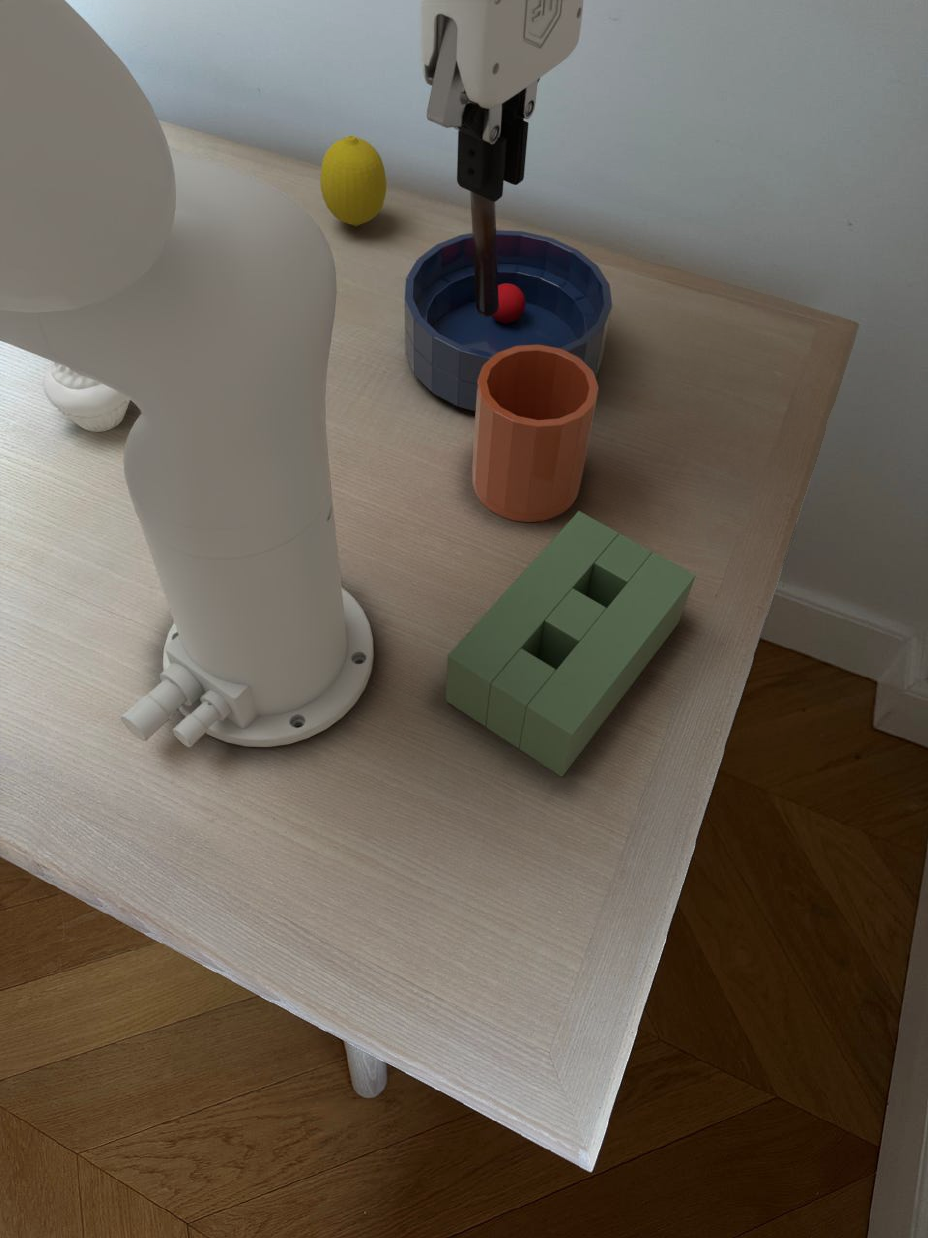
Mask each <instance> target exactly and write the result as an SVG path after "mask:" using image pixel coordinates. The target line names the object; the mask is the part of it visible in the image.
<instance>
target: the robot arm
mask: <svg viewBox="0 0 928 1238" xmlns="http://www.w3.org/2000/svg"><path fill="white" fill-rule="evenodd" d="M583 10H584V0H420V26H419V27H420V30H419V31H420V36H419V37H420V60H421V69H422V75H423V78H424V81H425V82H426V84H427V85H429V86H431V90H430V95H429V100H428V105H427V109H426V119H427V120H428V121H430V122H432V123H435V124H436V125H439V126H441V127H443V128H446V129H451V128H453V129H454V130H457V132H458V134H457V162H456V163H457V164H456V165H457V166H456V167H457V168H456V183H457V184H458V186H459V187H460V188H463V189H464V190H466V191H469V192H470V191H471V192H473V193H475V194H478V195H480V196H482V197H484V198H486V199H489V200H491V201H493V202H495V203H496V202H497V201H499V200H500V199H501V198H503V195H504V182H506V183H508V184H511V185H514V186H517V185H519V184H521V183H522V182H523V181H524V179H525V169H526V156H527V146H528V135H529V121H526V120H528V119H530V118H531V117H532V116H533V114H534V112H535V108H536V101H537V94H538V93H537V91H538V84H539V82H540V80H541V78H542V77H543V76H544V75H547V73H549V72H551V71H552V70H553V69H554V68H556V67H557V66H558V65H560V64H561V63H562V62H563V61H565V60H566V59H567V58H569V57H570V55H572V53H573V52H574V51H575V49H576V47H577V46H578V43H579V40H580V35H581V29H582V20H583ZM471 101H473V102H476V103H479V105H480V106H481V107H483V110H482V109H481V108H480V107H479V106H478V105H476V104H473V103H471ZM151 103H152V102H150V100H149V98H148V97H147V95H146V94H145V92H144V90H143V89H142V88H141V86H140V85H139V83H138V82H137V80H136V78H135V77H134V75H133V74H132V73H131V71H130V69H129V68H128V67H127V65H126V64H125V63H124V61H122V60H121V58H120V57H119V56H118V55H117V54H116V52H114V50H113V48H111V47H110V46H109V44H107V42H106V41H105V40H104V38H102V37H101V35H100V34H99V33H98V32H97V31H96V30H95V29H94V28H93V27H92V26H91V24H90V23H89V22H87V20H86V19H85V18H84V17H83V16H82V15H81V14H79V13H78V12H77V11H76V9H75V8H74V7H73V6H71V5H70V4H69V2H68V1H67V0H0V342H3V343H5V344H7V345H11V346H13V347H16V348H19V349H20V350H23V351H26V352H28V353H31V354H32V355H35V356H38V357H41V358H43V359H45V360H48V361H51V362H52V361H53V362H55V363H58V364H60V365H63V366H65V367H68V368H70V369H71V370H72V371H74V372H76V373H78V374H80V375H82V376H85V377H87V378H90V379H92V380H95V381H97V382H100V383H102V384H104V385H106V386H108V387H110V388H112V389H114V390H116V391H118V392H119V393H121V394H123V395H125V396H126V397H127V398H129V399H130V402H133V403H134V405H135V406H137V408H138V409H139V411H140V414H139V416H138V417H137V419H136V420H135V422H134V423H133V425H132V427H131V428H130V430H129V433H128V435H127V438H126V441H125V445H124V450H123V461H122V462H123V473H124V477H125V478H124V479H125V483H126V486H127V490H128V493H129V496H130V499H131V502H132V505H133V509H134V511H135V515H136V516H137V518H138V521H139V523H140V527H141V529H142V533H143V535H144V538H145V541H146V545H147V546H148V550H149V552H150V553H149V554H150V555H151V558H152V561H153V564H154V567H155V570H156V573H157V576H158V579H159V581H160V584H161V587H162V591H163V593H164V596H165V599H166V601H167V606H168V608H169V611H170V614H171V617H172V620H173V623H172V625H171V627H170V629H169V631H168V632H167V637H166V641H165V643H164V648H163V655H162V656H163V657H162V669H163V671H162V672H161V673H159V680H160V683H158V684H157V685H156V686H155V687H154V688H153V689H152V690H151V691H149V692H148V693H147V694H144V695H143V696H142V697H141V698H140V699H139V700H138V701H137V702H136V703H134V704H133V705H132V706H131V707H130V708H129V709H128V710H126V711H125V713H123V714H122V715H121V716H120V720H121V722H122V723H123V725H124V726H125V727H126V729H127V730H129V731H130V733H131V734H132V735H134V736H135V737H136V738H137V739H139V740H141V741H142V742H147V741H148V740H149V739H150V738H151V737H152V736H154V734H155V733H157V731H159V730H160V729H161V728H162V727H163V726H164V725H165V724H166V723H167V722H168V721H170V717H172V716H173V714H174V713H175V712H177V710H179V712H180V713H181V714H182V715H183V716H184V718H183V719H182V720H180V722H179V723H178V724H177V725H176V726H175V727H173V728H172V733H173V735H174V737H176V738H177V740H178V741H179V742H180V743H182V744H183V745H184V746H185V747H188V748H192V747H193V746H194V745H195V744H196V742H198V741H199V739H201V738H202V737H203V736H204V735H205V734H206V735H208V736H210V737H212V738H215V739H217V740H220V741H222V742H224V743H227V744H228V743H229V744H233V745H237V746H242V747H248V748H249V747H250V748H251V747H252V748H253V747H254V748H271V747H278V746H286V745H291V744H294V743H297V742H300V741H304V740H307V739H310V738H311V737H313V736H315V735H317V734H319V733H321V732H323V731H326V730H327V729H329V728H330V727H331V726H332V725H334V724H335V723H337V722H338V721H340V720H341V719H342V718H343V717H345V715H346V714H347V713H348V712H350V710H351V709H352V708H353V707H354V706H355V705H356V704H357V702H358V701H359V699H360V697H361V696H362V694H363V692H364V691H365V690H366V687H367V685H368V682H369V679H370V677H371V674H372V671H373V665H374V656H375V653H374V637H373V634H372V629H371V623H370V622H369V620H368V619H369V618H368V617H367V615H366V613H365V610H364V609H363V608H362V607H361V605H360V604H359V602H358V601H357V600H356V598H355V597H354V596H353V595H352V594H351V593H350V592H348V591H347V590H346V589H345V588H344V587H343V586H342V577H341V569H340V559H339V558H340V557H339V548H338V539H337V529H336V521H335V520H336V519H335V509H334V501H333V491H332V481H331V470H330V469H331V468H330V459H329V449H328V434H327V421H326V419H327V418H326V417H327V416H326V410H327V409H326V396H327V395H326V393H327V375H328V367H329V358H330V351H331V343H332V337H333V328H334V323H335V322H334V321H335V315H336V305H337V293H338V292H337V291H338V290H337V271H336V263H335V259H334V255H333V252H332V250H331V247H330V244H329V242H328V239H327V237H326V236H325V234H324V232H323V231H322V229H321V228H320V226H319V225H318V224H317V222H316V221H315V220H314V218H313V217H312V216H311V215H310V214H309V213H308V212H307V211H306V210H305V209H304V208H303V207H302V206H301V205H300V204H298V203H297V202H296V201H295V200H294V199H293V198H291V196H288V195H287V194H285V193H284V192H283V191H281V190H280V189H278V188H277V187H275V186H273V185H271V184H269V183H267V182H265V181H263V180H261V179H259V178H257V177H255V176H253V175H251V174H250V173H247V172H244V171H242V170H239V169H237V168H234V167H232V166H230V165H227V164H225V163H222V162H218V161H216V160H213V159H209V158H206V157H203V156H200V155H197V154H194V153H191V152H188V151H185V150H181V149H178V148H175V147H172V146H170V145H169V143H168V139H167V136H166V135H165V132H164V129H163V127H162V125H161V123H160V121H159V118H158V116H157V113H156V112H155V110H154V107H153V105H152V104H151ZM298 726H299V727H298Z"/></svg>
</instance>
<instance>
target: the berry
mask: <svg viewBox="0 0 928 1238" xmlns="http://www.w3.org/2000/svg"><path fill="white" fill-rule="evenodd" d="M498 298H499V308H498V311H497V312H496V314H495V315H493V316H492V317H493V318H494V319H495V320H496V321H498V322H501V323H511V322H514V321H516V320H517V319H518V318H520V316H521V315H522V314H523V312H524V309H525V297H524V294H523V292H522V291H521V290H520V289H519V288H518V287H517V286H515V285H513V284H509V283H504V284H500V285H498Z"/></svg>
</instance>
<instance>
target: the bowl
mask: <svg viewBox="0 0 928 1238" xmlns="http://www.w3.org/2000/svg"><path fill="white" fill-rule="evenodd" d="M496 239H497V268H498V285H500V284H504V283H509V284H513V285H515V286H517V287H518V288H519V289H520V290H521V291H522V292H523V294H524V297H525V309H524V312H523V314H522V315H521V316H520V318H518V319H517V320H516V321H514V322H511V323H501V322H498V321H496V320H495V319H494V318H493V317H492V316H491V317H484V316H482V315H480V314H479V312H478V311H477V307H476V291H475V272H474V253H473V235H472V232H470V233H463V234H460V235H457V236H454V237H452V238H450V239H447V240H444V241H442V242H439V243H436V244H435V245H434V246H432V247H431V248H430V249H429V250H427V251H426V252H425V253H423V254H422V255H420V256H419V257H418V258H417V259H416V261H415V262H414V264H413V266H412V267H411V269H410V271H409V272H408V274H407V275H406V277H405V287H404V343H405V345H404V347H405V348H404V349H405V350H404V352H405V356H406V359H407V361H408V364H409V366H410V368H411V371H412V373H413V375H414V376H415V377H416V378H417V379H418V380H419V381H420V383H422V384H423V385H424V386H425V387H426V388H427V389H428V390H429V391H430V392H431V393H432V394H434V395H436V396H437V397H439V398H440V399H443V400H445V401H446V402H449V403H450V404H452V405H454V406H456V407H459V408H462V409H466V410H469V411H474V412H476V397H477V381H478V378H479V375H480V372H481V369H482V366H483V365H484V364H485V363H486V362H487V361H488V360H490V359H491V358H492V357H493V356H494V355H495V354H497V353H498V352H501V351H504V350H506V349H509V348H512V347H514V346H523V345H544V346H549V347H555V348H560V349H563V350H565V351H567V352H569V353H571V354H573V355H575V356H577V357H579V358H580V359H581V360H582V361H583V362H584V363H585V364H586V365H587V366H588V367H589V368H590V369H591V370H592V371H593V372H594V375H595V378H596V377H597V375H598V372H599V370H600V367H601V365H602V362H603V358H604V353H605V352H604V351H605V346H606V341H607V335H608V331H609V325H610V320H611V315H612V309H613V299H612V292H611V285H610V283H609V281H608V279H607V277H605V275H604V273H603V271H602V270H601V269H600V267H599V265H598V264H596V263H595V262H593V261H592V260H591V259H590V258H589V257H588V256H586V255H585V254H584V253H583V252H581V251H580V250H578V249H577V248H575V247H573V246H570V245H568V244H566V243H565V242H562V241H560V240H557V239H555V238H553V237H550V236H545V235H541V234H536V233H532V232H527V231H523V230H504V229H503V230H501V229H500V230H499V229H496Z"/></svg>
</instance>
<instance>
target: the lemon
mask: <svg viewBox="0 0 928 1238" xmlns="http://www.w3.org/2000/svg"><path fill="white" fill-rule="evenodd" d="M319 180H320V190H321V195H322V198H323V201H324V204H325V206H326V208H327V209H328V210H329V212H330V213H331V214H332V215H333V216H334V218H336V219H338V220H339V221H340V222H342V223H345V224H348V225H352V226H353V227H359V226H360V225H362V224H365V223H368V222H370V221H371V220H373V219H374V218H375V217H376V216H377V215H378V214H379V212H380V211H381V209H382V208H383V206H384V202H385V198H386V194H387V176H386V171H385V167H384V163H383V160H382V157H381V156H380V153H379V152H378V150H377V149H376V148H375V147H374V146H373V145H372V144H371V143H369V142H368V141H367V140H365V139H362V138H360V137H357V136H354V135H347V136H346V137H343V138H340V139H338V140H336V141H335V142H334V143H332V144H331V145H330V147H328V149H327V151H326V152H325V154H324V156H323V159H322V163H321V169H320V179H319Z"/></svg>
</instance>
